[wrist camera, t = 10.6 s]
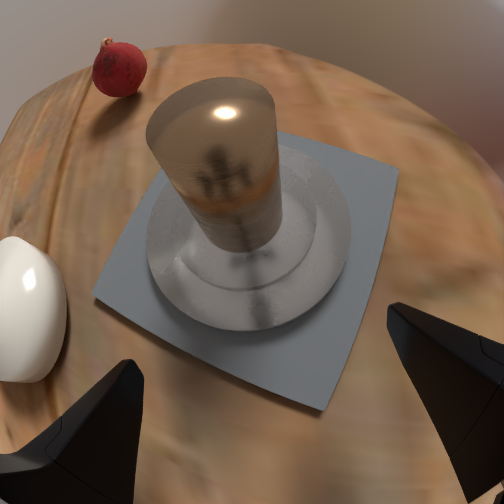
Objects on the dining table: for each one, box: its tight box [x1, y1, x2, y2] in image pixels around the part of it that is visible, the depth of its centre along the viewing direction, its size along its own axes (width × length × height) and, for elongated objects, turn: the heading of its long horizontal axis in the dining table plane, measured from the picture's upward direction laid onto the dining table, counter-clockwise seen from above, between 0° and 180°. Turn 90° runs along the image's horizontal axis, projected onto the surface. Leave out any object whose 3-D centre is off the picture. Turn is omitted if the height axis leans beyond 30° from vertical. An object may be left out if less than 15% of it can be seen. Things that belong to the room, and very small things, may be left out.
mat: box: [91, 131, 399, 411], centre depth 17 cm, size 16×16×1 cm
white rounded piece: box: [0, 237, 67, 383], centre depth 15 cm, size 11×11×4 cm
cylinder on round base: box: [146, 77, 351, 332], centre depth 13 cm, size 12×12×9 cm
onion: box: [92, 38, 147, 97], centre depth 21 cm, size 6×6×8 cm
